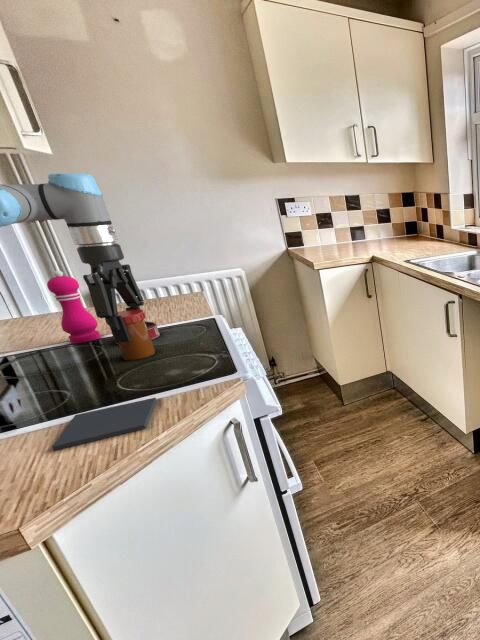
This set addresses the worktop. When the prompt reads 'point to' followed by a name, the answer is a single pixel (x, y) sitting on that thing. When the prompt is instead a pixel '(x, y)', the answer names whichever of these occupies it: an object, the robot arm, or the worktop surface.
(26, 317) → the worktop surface
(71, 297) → the pepper mill
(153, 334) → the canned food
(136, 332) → the jar
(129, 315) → the lid
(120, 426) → the mat
